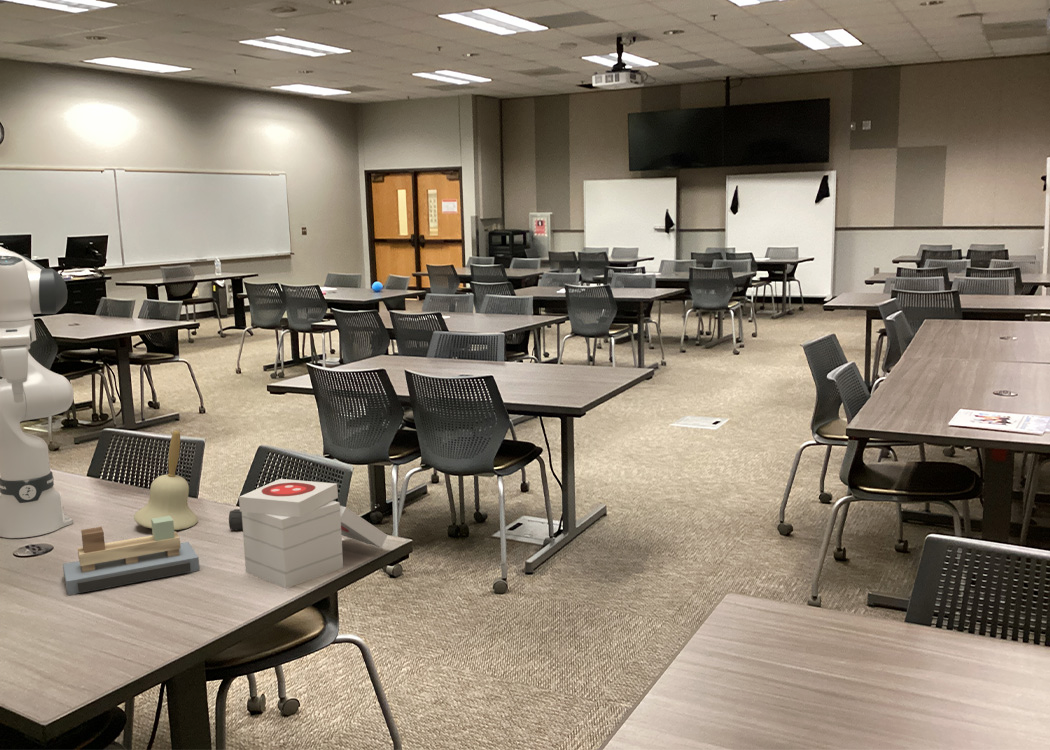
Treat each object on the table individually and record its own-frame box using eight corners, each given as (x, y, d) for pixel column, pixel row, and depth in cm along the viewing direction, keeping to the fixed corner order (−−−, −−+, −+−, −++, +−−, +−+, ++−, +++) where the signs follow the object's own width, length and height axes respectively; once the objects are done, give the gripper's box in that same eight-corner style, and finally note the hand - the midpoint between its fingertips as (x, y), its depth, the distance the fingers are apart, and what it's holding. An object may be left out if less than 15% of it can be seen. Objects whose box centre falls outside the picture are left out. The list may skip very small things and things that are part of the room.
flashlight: (227, 533, 225) (226, 512, 225) (232, 526, 231) (231, 506, 230) (291, 530, 227) (289, 509, 226) (294, 523, 232) (293, 503, 231)
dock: (64, 576, 198) (62, 563, 197) (189, 554, 211) (188, 541, 210) (68, 596, 187) (66, 583, 186) (200, 571, 199) (199, 558, 199)
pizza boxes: (393, 553, 209) (390, 476, 206) (282, 593, 186) (277, 508, 184) (341, 536, 221) (337, 464, 218) (231, 572, 199) (225, 492, 196)
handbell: (146, 511, 240) (157, 419, 236) (204, 520, 240) (216, 428, 237) (123, 530, 224) (134, 432, 221) (185, 539, 225) (197, 442, 222)
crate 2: (152, 536, 202) (151, 518, 202) (171, 532, 204) (170, 515, 204) (155, 541, 199) (153, 523, 198) (174, 537, 201) (173, 520, 200)
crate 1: (82, 547, 195) (81, 529, 195) (103, 544, 197) (101, 526, 197) (84, 553, 192) (82, 535, 191) (105, 549, 194) (103, 531, 193)
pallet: (79, 565, 196) (77, 547, 195) (177, 548, 206) (175, 531, 205) (81, 573, 192) (79, 554, 191) (181, 555, 202) (179, 537, 201)
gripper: (-6, 330, 199) (1, 393, 201) (-6, 339, 181) (1, 407, 183) (27, 328, 202) (33, 390, 204) (30, 337, 184) (37, 404, 187)
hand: (18, 398), depth 194 cm, fingers open, 8 cm apart
